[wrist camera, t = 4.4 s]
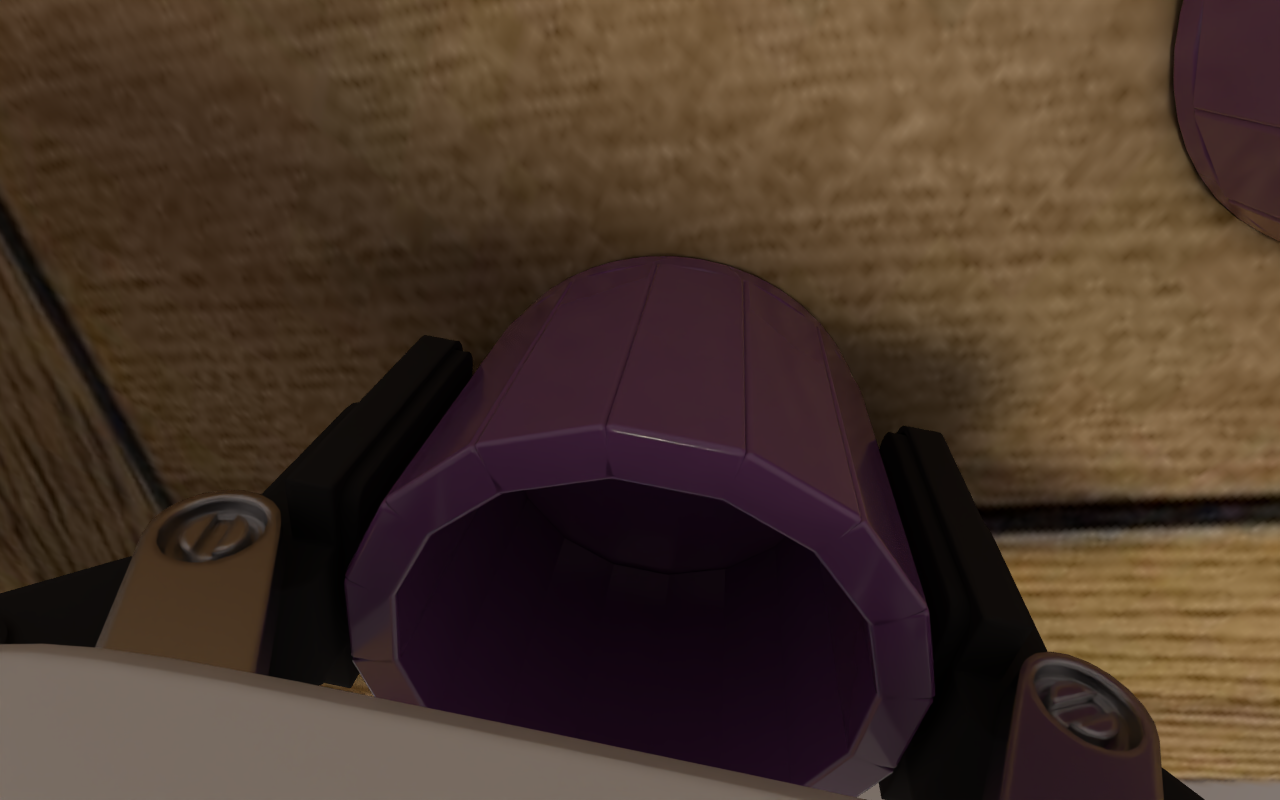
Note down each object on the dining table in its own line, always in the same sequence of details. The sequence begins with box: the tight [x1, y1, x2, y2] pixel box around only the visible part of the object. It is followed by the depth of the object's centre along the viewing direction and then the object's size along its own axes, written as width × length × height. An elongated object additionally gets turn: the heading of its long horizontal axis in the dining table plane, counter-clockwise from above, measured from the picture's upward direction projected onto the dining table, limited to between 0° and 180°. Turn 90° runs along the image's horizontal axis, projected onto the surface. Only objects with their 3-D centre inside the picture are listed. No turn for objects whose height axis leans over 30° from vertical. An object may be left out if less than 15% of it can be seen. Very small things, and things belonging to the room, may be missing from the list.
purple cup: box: [344, 256, 936, 797], centre depth 10 cm, size 6×6×5 cm
